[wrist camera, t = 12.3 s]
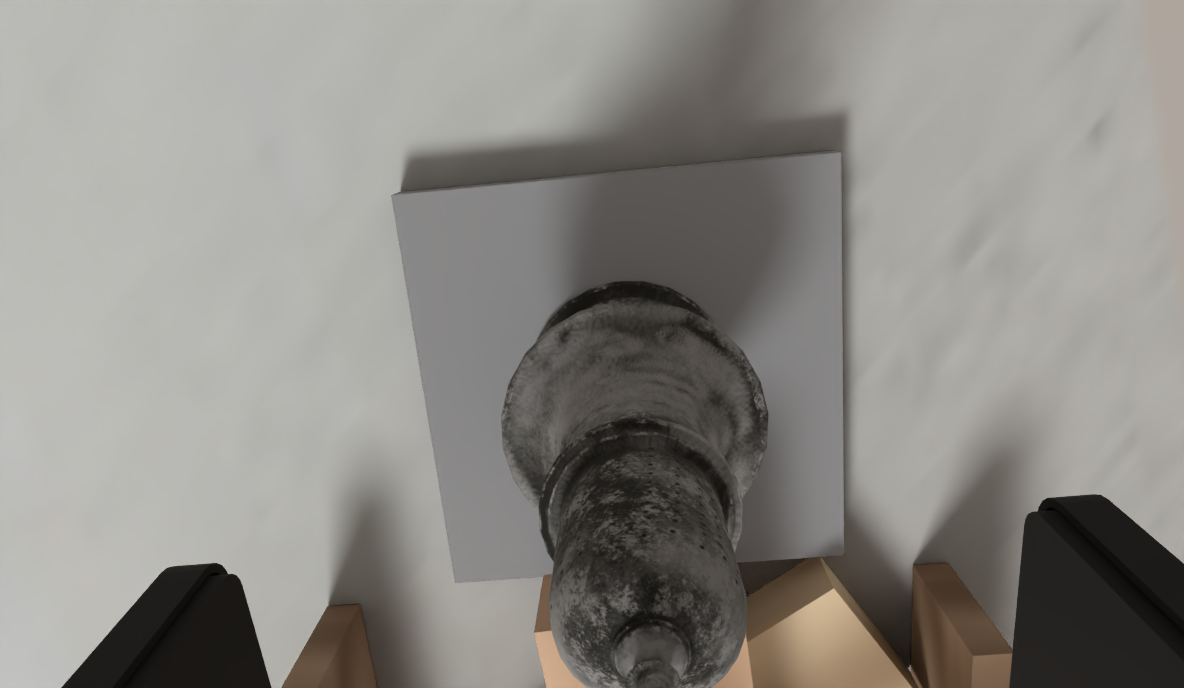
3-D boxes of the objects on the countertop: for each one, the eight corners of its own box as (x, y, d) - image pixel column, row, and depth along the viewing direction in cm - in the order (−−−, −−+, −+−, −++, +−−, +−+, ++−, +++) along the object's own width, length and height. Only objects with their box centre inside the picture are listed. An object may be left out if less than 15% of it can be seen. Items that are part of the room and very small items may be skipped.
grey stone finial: (731, 253, 20) (896, 446, 8) (753, 466, 22) (917, 876, 10) (500, 286, 20) (355, 515, 9) (538, 494, 22) (458, 918, 10)
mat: (399, 192, 20) (391, 195, 20) (832, 150, 20) (841, 152, 19) (460, 567, 24) (455, 583, 23) (836, 540, 23) (844, 555, 22)
